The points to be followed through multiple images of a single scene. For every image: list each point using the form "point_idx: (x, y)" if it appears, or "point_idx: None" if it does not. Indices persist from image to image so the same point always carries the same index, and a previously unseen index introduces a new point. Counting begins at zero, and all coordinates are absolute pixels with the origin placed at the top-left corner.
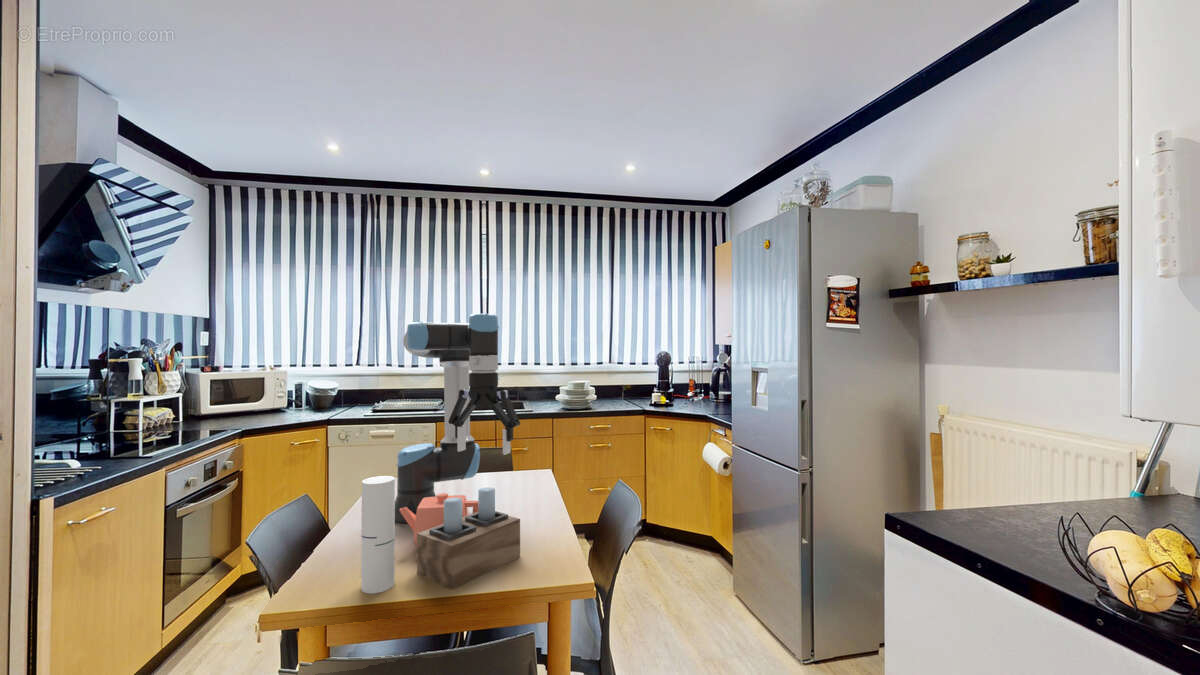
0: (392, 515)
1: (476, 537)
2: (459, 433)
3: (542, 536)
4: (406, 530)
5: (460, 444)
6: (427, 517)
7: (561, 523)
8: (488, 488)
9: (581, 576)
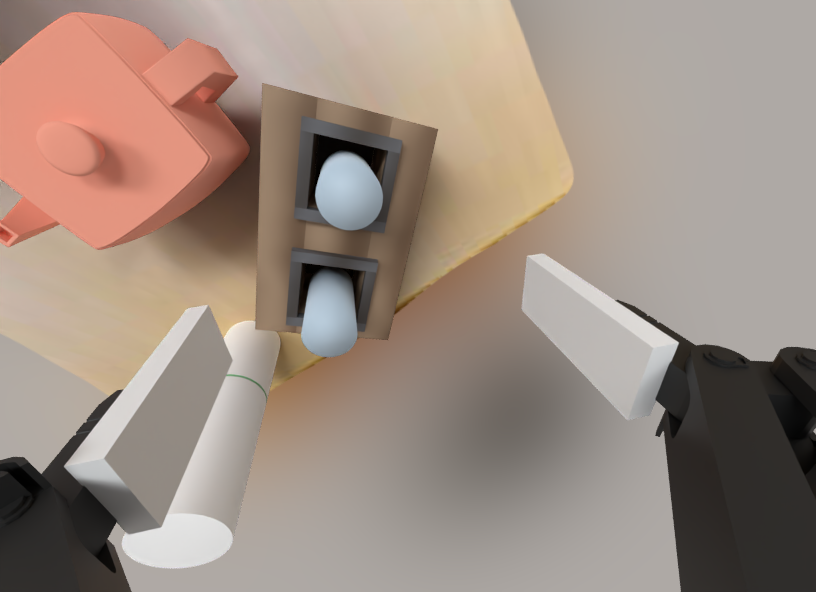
0: (251, 433)
1: (400, 284)
2: (183, 466)
3: None
4: None
5: (215, 386)
6: (147, 229)
7: None
8: (343, 179)
9: (568, 163)
